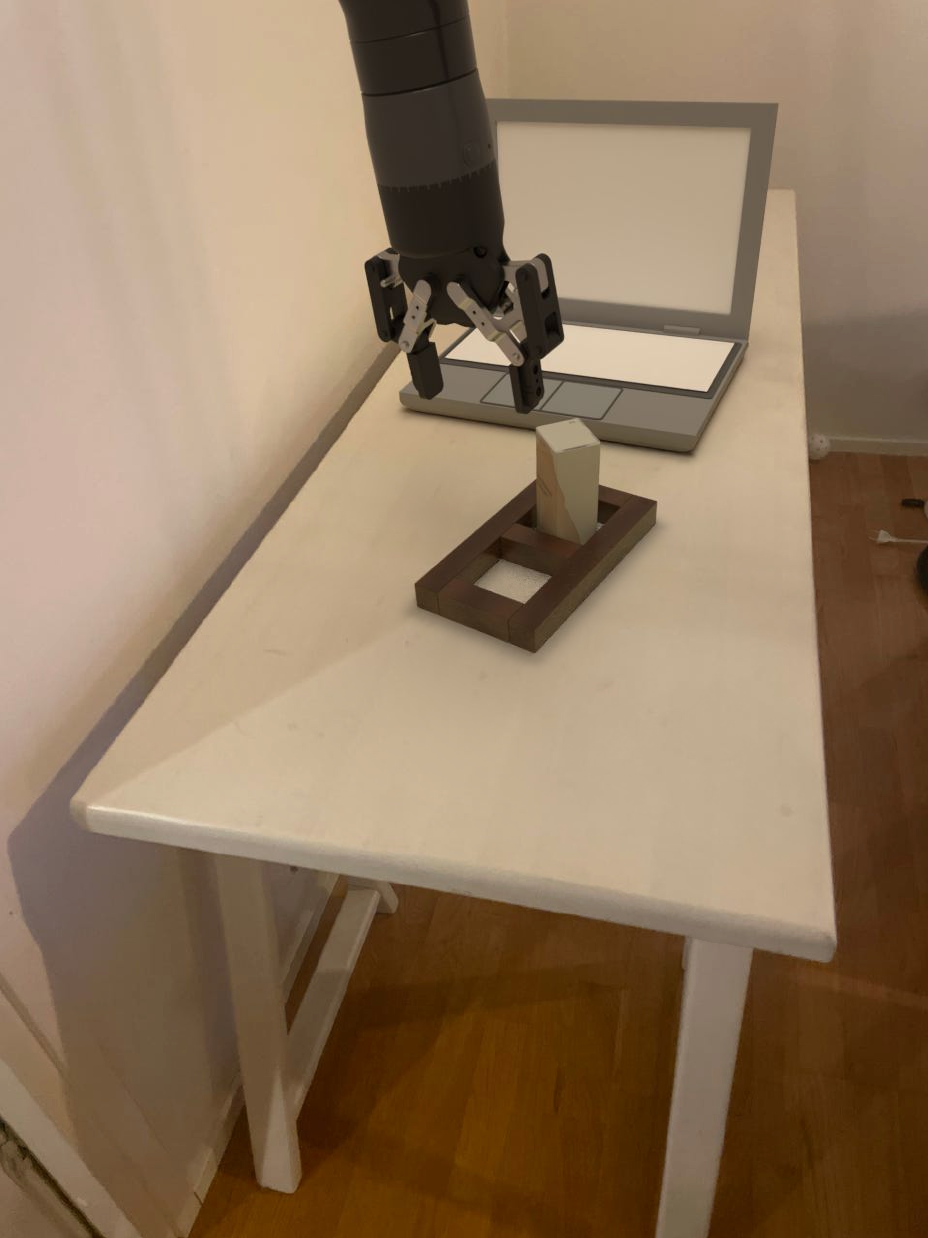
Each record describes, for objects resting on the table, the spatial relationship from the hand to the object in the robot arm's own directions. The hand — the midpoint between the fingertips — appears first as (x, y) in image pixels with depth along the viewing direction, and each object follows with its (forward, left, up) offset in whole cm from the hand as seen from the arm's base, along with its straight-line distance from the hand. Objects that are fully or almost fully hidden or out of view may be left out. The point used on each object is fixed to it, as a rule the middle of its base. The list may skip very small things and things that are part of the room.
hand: (478, 401), depth 68 cm
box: (-4, -13, -20) cm, 24 cm away
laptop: (+1, -46, -20) cm, 50 cm away
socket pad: (-2, -9, -20) cm, 22 cm away
